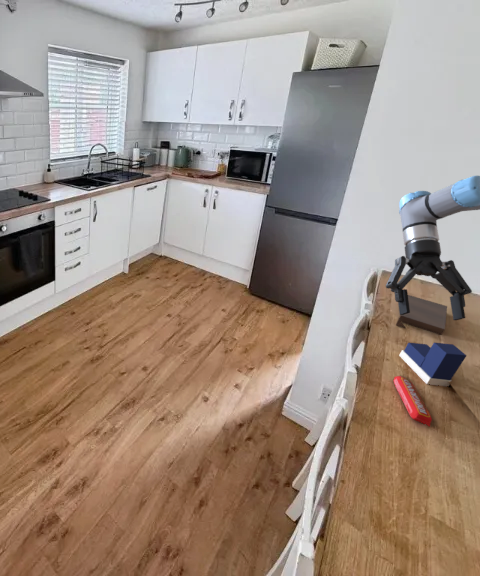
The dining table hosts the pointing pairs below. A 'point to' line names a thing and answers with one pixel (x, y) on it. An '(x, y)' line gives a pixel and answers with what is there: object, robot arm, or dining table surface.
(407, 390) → the candy bar
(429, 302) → the shoe shelf
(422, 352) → the two-tone navy white block
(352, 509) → the dining table surface
